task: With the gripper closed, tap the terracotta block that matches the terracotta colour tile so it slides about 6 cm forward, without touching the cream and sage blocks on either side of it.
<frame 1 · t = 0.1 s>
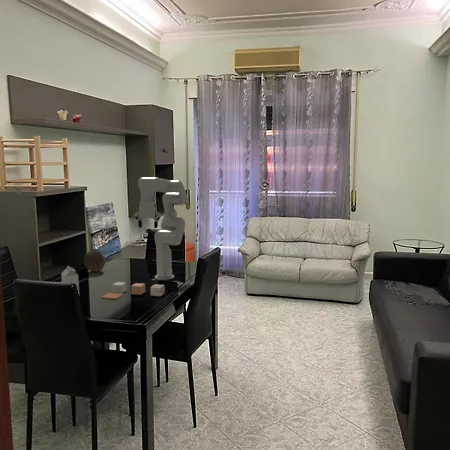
hand: (148, 227, 270), 37 cm above the table, tool pointing down, fingers open, 9 cm apart
colour tile: (112, 296, 257), on the table
milk carton: (71, 300, 250), on the table
terracotta block: (138, 293, 264), on the table
cream block: (157, 294, 261), on the table
cantaloupe: (94, 272, 314), on the table
sage block: (119, 291, 266), on the table
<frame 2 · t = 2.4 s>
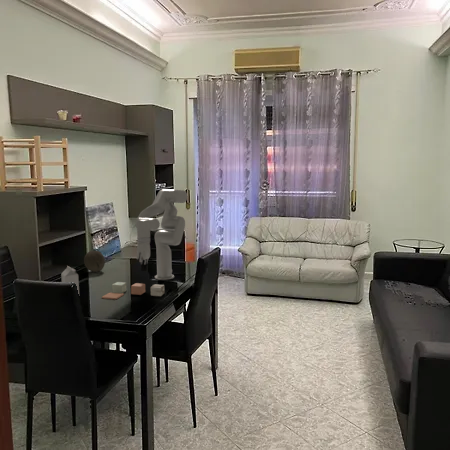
hand: (144, 270, 271), 11 cm above the table, tool pointing down, fingers closed
nothing on the table moved.
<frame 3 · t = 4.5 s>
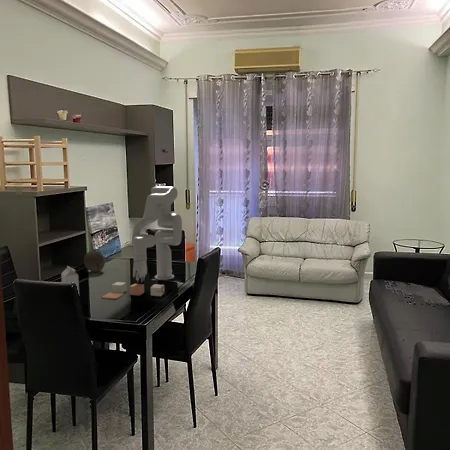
hand: (141, 288, 267), 2 cm above the table, tool pointing down, fingers closed
terracotta block: (137, 293, 262), on the table, touching gripper
everything else where it was.
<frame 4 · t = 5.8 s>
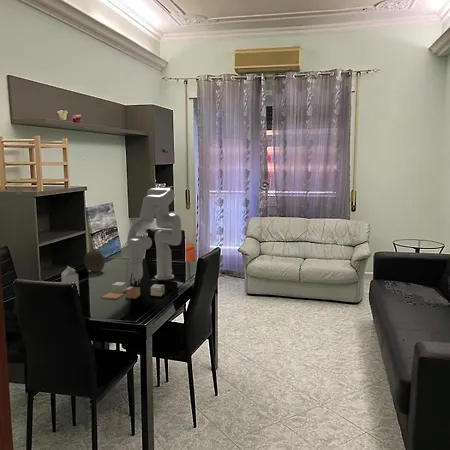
hand: (136, 291, 261), 2 cm above the table, tool pointing down, fingers closed
terracotta block: (132, 296, 257), on the table
everything else where it was.
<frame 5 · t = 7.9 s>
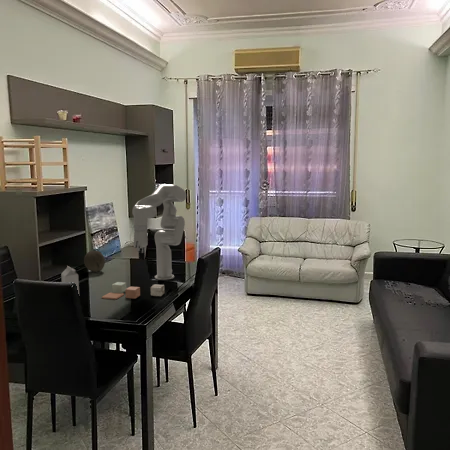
hand: (141, 259, 267), 19 cm above the table, tool pointing down, fingers closed
nothing on the table moved.
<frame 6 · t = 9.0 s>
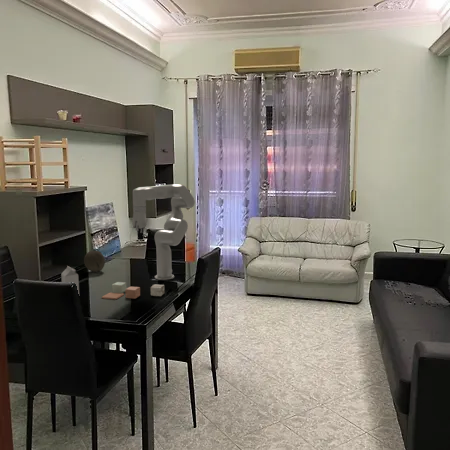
hand: (140, 239, 274), 29 cm above the table, tool pointing down, fingers closed
nothing on the table moved.
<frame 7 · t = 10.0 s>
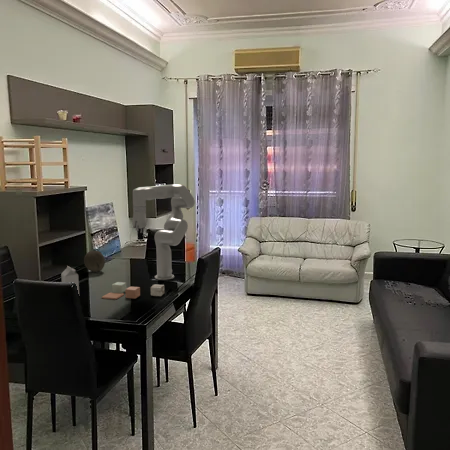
hand: (140, 239, 274), 29 cm above the table, tool pointing down, fingers closed
nothing on the table moved.
at the end: terracotta block moved 7.4 cm from its start; cream block moved 0.2 cm from its start; sage block moved 0.2 cm from its start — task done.
